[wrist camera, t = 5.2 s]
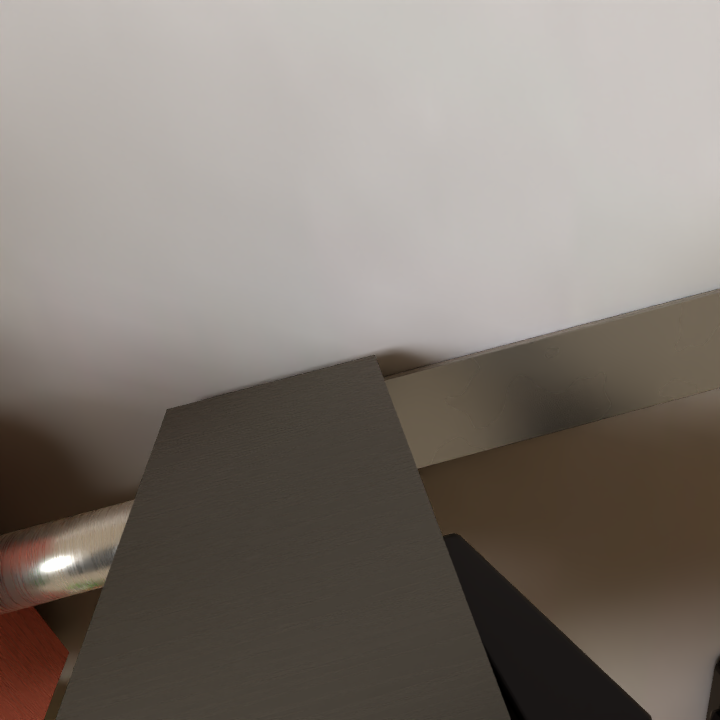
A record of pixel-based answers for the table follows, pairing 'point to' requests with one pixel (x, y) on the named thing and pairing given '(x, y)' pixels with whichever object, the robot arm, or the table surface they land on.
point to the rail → (559, 379)
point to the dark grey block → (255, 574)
